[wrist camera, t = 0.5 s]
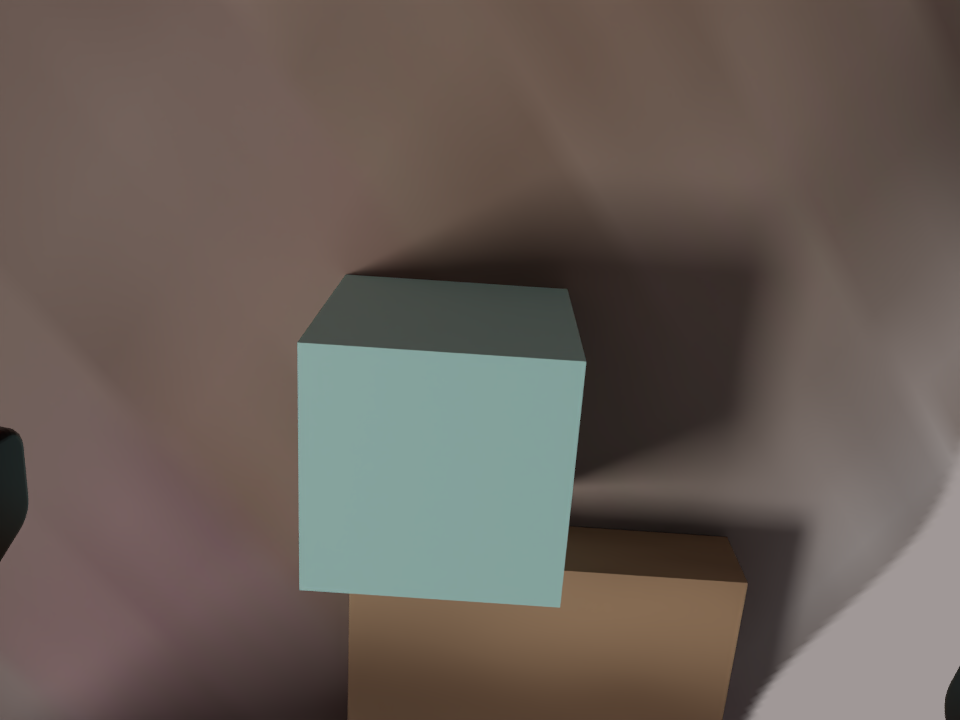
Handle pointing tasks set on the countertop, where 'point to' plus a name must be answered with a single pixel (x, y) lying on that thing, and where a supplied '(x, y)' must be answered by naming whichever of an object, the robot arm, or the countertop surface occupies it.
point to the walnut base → (562, 640)
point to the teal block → (438, 440)
